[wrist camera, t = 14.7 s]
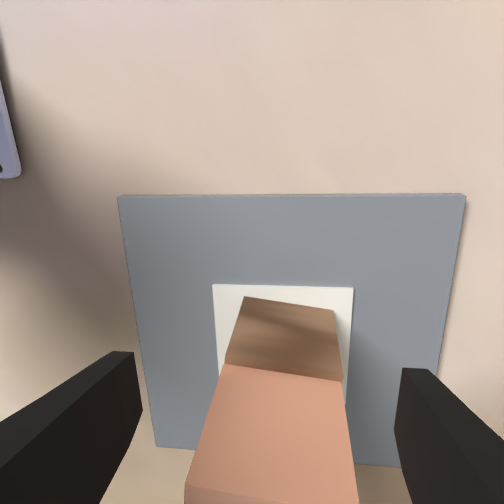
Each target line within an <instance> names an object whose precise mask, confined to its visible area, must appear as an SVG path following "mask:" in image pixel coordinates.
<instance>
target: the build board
mask: <svg viewBox="0 0 504 504" xmlns="http://www.w3.org/2000/svg"><path fill="white" fill-rule="evenodd" d="M465 201H466V196H465V195H463V194H461V193H427V194H267V195H122V196H120V197H118V198H117V202H118V208H119V215H120V221H121V227H122V234H123V240H124V246H125V253H126V259H127V265H128V272H129V278H130V284H131V291H132V297H133V303H134V310H135V316H136V322H137V329H138V335H139V341H140V348H141V354H142V360H143V367H144V373H145V379H146V386H147V392H148V398H149V405H150V411H151V417H152V424H153V430H154V436H155V443H156V447H166V448H178V449H189V450H196V448H197V445H198V441H199V438H200V435H201V432H202V429H203V426H204V423H205V419H206V416H207V413H208V410H209V407H210V404H211V401H212V397H213V394H214V391H215V388H216V385H217V382H218V379H219V375H220V372H221V369H222V366H223V364H224V361H225V354H226V351H227V348H228V345H229V342H230V338H231V335H232V332H233V329H234V326H235V323H236V320H237V317H238V314H239V310H240V307H241V304H242V301H243V298H244V296H247V297H254V298H260V299H266V300H273V301H279V302H285V303H292V304H298V305H304V306H311V307H317V308H323V309H330V310H333V313H334V319H335V325H336V332H337V338H338V344H339V350H340V356H341V362H342V368H343V374H344V377H343V381H342V391H343V398H344V404H345V411H346V417H347V424H348V431H349V437H350V444H351V451H352V457H353V464H364V465H376V466H388V467H400V468H401V463H400V459H399V454H398V449H397V444H396V439H395V434H394V423H395V416H396V409H397V402H398V395H399V388H400V380H401V373H402V367H405V368H423V369H428V370H429V371H431V372H432V373H433V374H434V375H435V376H436V372H437V367H438V361H439V355H440V349H441V343H442V337H443V331H444V325H445V319H446V313H447V307H448V302H449V296H450V290H451V284H452V278H453V272H454V266H455V260H456V254H457V248H458V243H459V237H460V231H461V225H462V219H463V213H464V207H465Z"/></svg>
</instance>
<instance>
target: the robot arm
mask: <svg viewBox="0 0 504 504" xmlns="http://www.w3.org/2000/svg"><path fill="white" fill-rule="evenodd" d="M0 165H1V166H2V168H3V172H2V171H1V170H0V178H14V177H18V176H19V175H20V174H21V165H20V160H19V156H18V152H17V148H16V144H15V140H14V135H13V131H12V127H11V123H10V119H9V115H8V110H7V106H6V102H5V98H4V94H3V90H2V86H1V81H0ZM142 411H143V408H142V402H141V396H140V389H139V383H138V377H137V371H136V364H135V358H134V352H120V351H112V352H111V353H109V354H107V355H105V356H104V357H102V358H101V359H99V360H97V361H96V362H94V363H93V364H91V365H90V366H88V367H87V368H85V369H84V370H82V371H80V372H79V373H77V374H76V375H74V376H73V377H71V378H70V379H68V380H67V381H65V382H64V383H62V384H61V385H59V386H58V387H56V388H54V389H53V390H51V391H50V392H48V393H47V394H45V395H44V396H42V397H41V398H39V399H37V400H36V401H34V402H32V403H31V404H29V405H27V406H26V407H24V408H22V409H21V410H19V411H18V412H16V413H14V414H13V415H11V416H9V417H8V418H6V419H4V420H3V421H1V422H0V504H99V503H100V501H101V499H102V497H103V495H104V494H105V492H106V490H107V488H108V486H109V484H110V482H111V480H112V479H113V477H114V475H115V473H116V471H117V469H118V467H119V465H120V463H121V461H122V459H123V458H124V456H125V454H126V452H127V450H128V448H129V446H130V443H131V441H132V438H133V436H134V433H135V431H136V428H137V425H138V422H139V420H140V417H141V414H142ZM394 434H395V439H396V444H397V449H398V454H399V459H400V463H401V468H402V472H403V475H404V478H405V482H406V485H407V488H408V491H409V494H410V497H411V500H412V503H413V504H504V440H503V439H502V438H501V437H499V436H498V435H497V434H496V433H495V432H494V431H493V430H492V429H491V428H489V427H488V426H487V425H486V424H485V423H484V422H483V421H482V420H481V419H480V418H479V417H478V416H477V415H475V414H474V413H473V412H472V411H471V410H470V409H469V408H468V407H467V406H466V405H465V404H464V403H463V402H462V401H461V400H460V399H459V398H458V397H457V396H455V395H454V394H453V393H452V392H451V391H450V390H449V389H448V388H447V387H446V386H445V385H444V384H443V383H442V382H441V381H440V380H439V379H438V378H437V377H436V376H435V375H434V374H433V373H432V372H431V371H429V370H428V369H423V368H405V367H402V373H401V380H400V388H399V395H398V402H397V409H396V416H395V423H394Z"/></svg>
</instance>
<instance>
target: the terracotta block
mask: <svg viewBox="0 0 504 504" xmlns="http://www.w3.org/2000/svg"><path fill="white" fill-rule="evenodd" d="M184 504H359V497H358V491H357V484H356V477H355V471H354V464H353V457H352V451H351V444H350V437H349V431H348V424H347V417H346V411H345V404H344V398H343V391H342V384H341V382H339V381H332V380H326V379H319V378H313V377H306V376H300V375H294V374H287V373H281V372H274V371H268V370H261V369H255V368H248V367H242V366H235V365H229V364H223V366H222V369H221V372H220V375H219V379H218V382H217V385H216V388H215V391H214V394H213V397H212V401H211V404H210V407H209V410H208V413H207V416H206V419H205V423H204V426H203V429H202V432H201V435H200V438H199V441H198V445H197V448H196V451H195V454H194V457H193V460H192V464H191V467H190V470H189V473H188V476H187V479H186V482H185V495H184Z"/></svg>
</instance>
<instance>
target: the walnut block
mask: <svg viewBox="0 0 504 504" xmlns="http://www.w3.org/2000/svg"><path fill="white" fill-rule="evenodd" d="M224 364H229V365H235V366H242V367H248V368H255V369H261V370H268V371H274V372H281V373H287V374H294V375H300V376H306V377H313V378H319V379H326V380H332V381H339V382H341V384H342V381H343V377H344V374H343V368H342V362H341V356H340V350H339V344H338V338H337V332H336V325H335V319H334V313H333V310H330V309H323V308H317V307H311V306H304V305H298V304H292V303H285V302H279V301H273V300H266V299H260V298H254V297H247V296H244V298H243V301H242V304H241V307H240V310H239V314H238V317H237V320H236V323H235V326H234V329H233V332H232V335H231V338H230V342H229V345H228V348H227V351H226V354H225V361H224Z"/></svg>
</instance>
